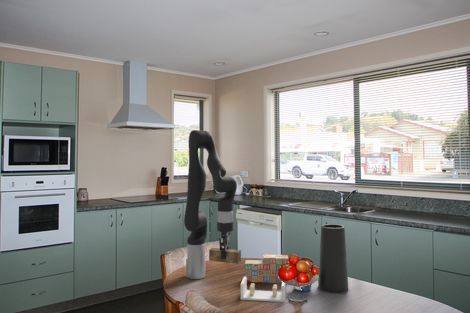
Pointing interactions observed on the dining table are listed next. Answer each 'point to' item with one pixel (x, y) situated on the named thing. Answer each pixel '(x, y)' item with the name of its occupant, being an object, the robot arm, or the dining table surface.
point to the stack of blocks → (265, 268)
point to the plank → (231, 255)
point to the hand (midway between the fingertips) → (224, 257)
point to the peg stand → (262, 293)
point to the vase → (333, 259)
